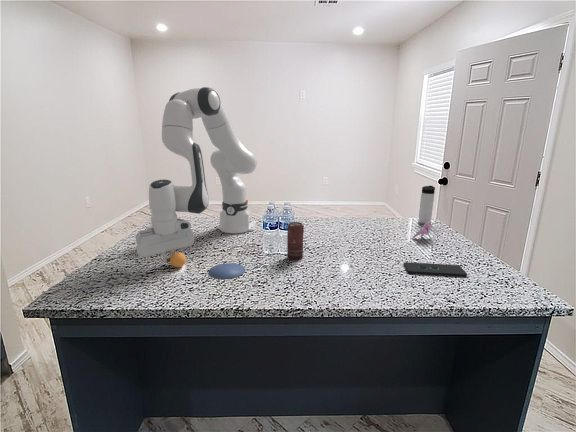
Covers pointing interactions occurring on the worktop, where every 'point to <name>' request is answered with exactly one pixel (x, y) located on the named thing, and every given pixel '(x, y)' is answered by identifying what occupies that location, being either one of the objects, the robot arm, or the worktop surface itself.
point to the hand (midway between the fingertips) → (168, 261)
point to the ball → (178, 259)
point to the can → (295, 241)
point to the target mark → (227, 271)
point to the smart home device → (434, 269)
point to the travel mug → (426, 204)
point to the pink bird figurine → (425, 230)
